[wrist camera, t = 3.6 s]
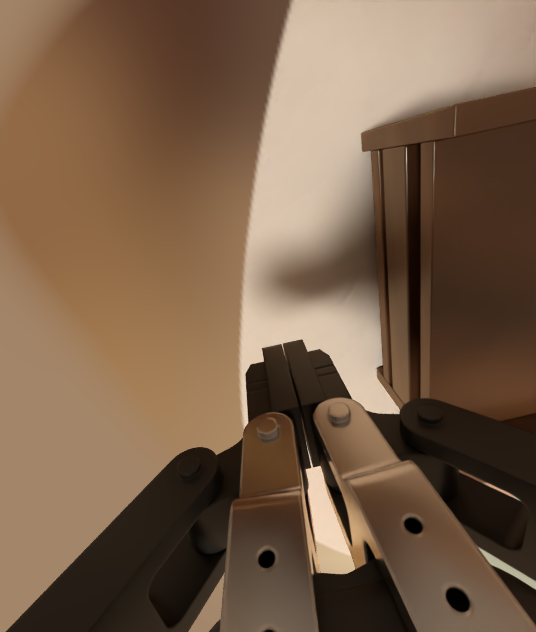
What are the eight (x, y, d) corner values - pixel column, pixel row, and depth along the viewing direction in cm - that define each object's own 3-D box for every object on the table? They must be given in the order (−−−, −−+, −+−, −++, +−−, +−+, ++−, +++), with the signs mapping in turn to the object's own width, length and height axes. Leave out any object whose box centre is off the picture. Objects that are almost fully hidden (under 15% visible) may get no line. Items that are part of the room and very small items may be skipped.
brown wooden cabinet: (360, 133, 15) (455, 104, 9) (527, 97, 15) (739, 42, 9) (377, 378, 21) (441, 468, 15) (497, 350, 21) (613, 428, 15)
